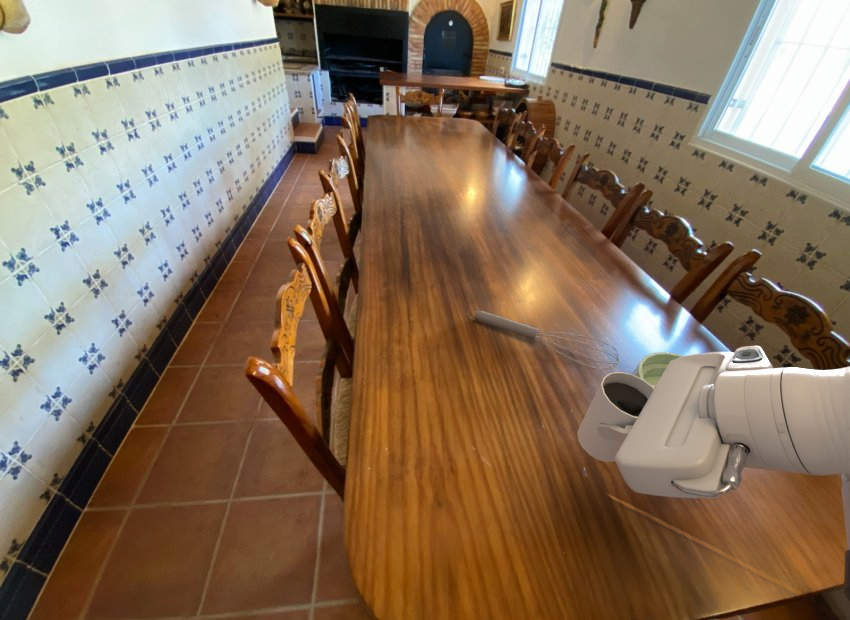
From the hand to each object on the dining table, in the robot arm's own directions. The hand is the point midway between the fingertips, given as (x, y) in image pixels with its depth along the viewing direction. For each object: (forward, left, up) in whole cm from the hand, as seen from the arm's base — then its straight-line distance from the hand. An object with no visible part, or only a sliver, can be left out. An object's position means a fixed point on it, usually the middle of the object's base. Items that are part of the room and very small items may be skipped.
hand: (610, 414), depth 44 cm
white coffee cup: (-1, 0, -6) cm, 6 cm away
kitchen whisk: (+13, -29, -19) cm, 37 cm away
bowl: (-15, -27, -19) cm, 37 cm away
